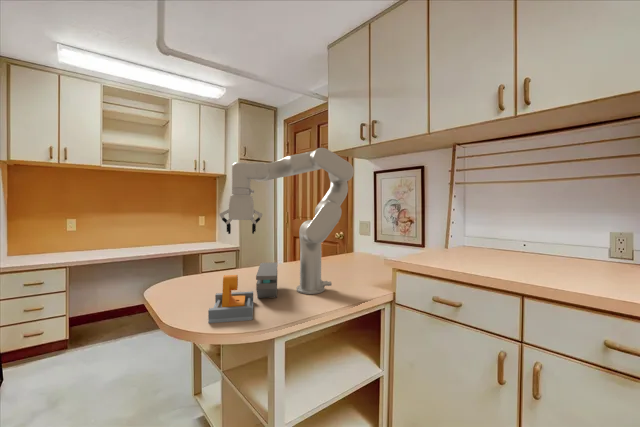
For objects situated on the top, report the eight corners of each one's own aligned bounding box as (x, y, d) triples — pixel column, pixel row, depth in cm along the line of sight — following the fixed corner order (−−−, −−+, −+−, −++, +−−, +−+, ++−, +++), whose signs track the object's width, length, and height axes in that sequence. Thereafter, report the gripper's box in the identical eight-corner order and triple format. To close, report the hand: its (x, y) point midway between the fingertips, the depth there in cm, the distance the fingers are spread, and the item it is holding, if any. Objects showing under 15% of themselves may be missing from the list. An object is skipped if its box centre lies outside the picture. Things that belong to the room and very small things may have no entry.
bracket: (243, 312, 101) (243, 278, 101) (222, 314, 100) (221, 279, 99) (245, 302, 112) (245, 271, 111) (225, 303, 110) (225, 272, 110)
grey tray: (253, 301, 116) (253, 291, 116) (252, 319, 98) (252, 307, 98) (216, 304, 113) (216, 293, 113) (208, 323, 95) (208, 310, 95)
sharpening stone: (260, 285, 139) (260, 262, 138) (277, 285, 140) (277, 262, 139) (256, 303, 114) (256, 276, 113) (276, 303, 115) (276, 275, 114)
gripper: (262, 193, 127) (262, 232, 128) (220, 192, 124) (220, 232, 124) (262, 192, 120) (262, 234, 121) (218, 192, 116) (218, 234, 117)
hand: (241, 233), depth 122 cm, fingers open, 9 cm apart
